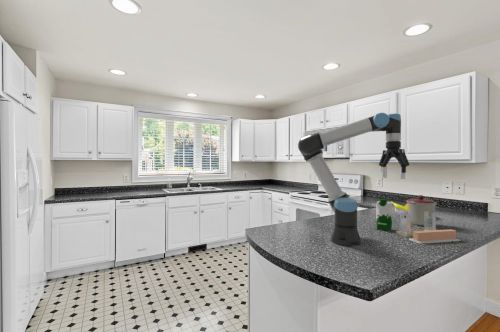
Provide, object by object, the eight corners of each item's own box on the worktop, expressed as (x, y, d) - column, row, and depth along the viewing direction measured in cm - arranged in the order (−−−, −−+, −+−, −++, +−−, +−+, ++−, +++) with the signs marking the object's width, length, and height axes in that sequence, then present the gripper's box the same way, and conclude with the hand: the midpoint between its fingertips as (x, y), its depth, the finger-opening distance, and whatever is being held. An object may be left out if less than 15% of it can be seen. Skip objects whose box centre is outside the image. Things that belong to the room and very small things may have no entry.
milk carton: (374, 229, 166) (375, 199, 166) (379, 227, 173) (379, 197, 173) (389, 232, 160) (389, 200, 160) (393, 229, 167) (393, 199, 167)
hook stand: (406, 236, 149) (406, 214, 149) (395, 233, 157) (395, 212, 157) (439, 235, 154) (440, 213, 154) (428, 231, 161) (428, 211, 161)
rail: (417, 241, 138) (417, 232, 138) (412, 239, 141) (412, 231, 141) (456, 238, 143) (456, 230, 143) (450, 237, 146) (450, 229, 146)
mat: (419, 243, 136) (419, 242, 136) (408, 239, 143) (408, 238, 143) (460, 241, 141) (460, 239, 141) (448, 237, 148) (448, 236, 148)
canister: (409, 226, 176) (409, 196, 176) (403, 220, 193) (403, 193, 193) (440, 228, 170) (440, 197, 170) (431, 222, 187) (431, 194, 187)
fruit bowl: (437, 217, 209) (437, 203, 209) (422, 221, 194) (422, 206, 194) (401, 212, 232) (401, 199, 232) (385, 215, 217) (386, 201, 217)
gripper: (417, 139, 133) (417, 179, 133) (383, 143, 158) (383, 177, 158) (405, 138, 132) (404, 179, 132) (372, 143, 156) (372, 177, 156)
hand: (393, 178), depth 145 cm, fingers open, 13 cm apart
